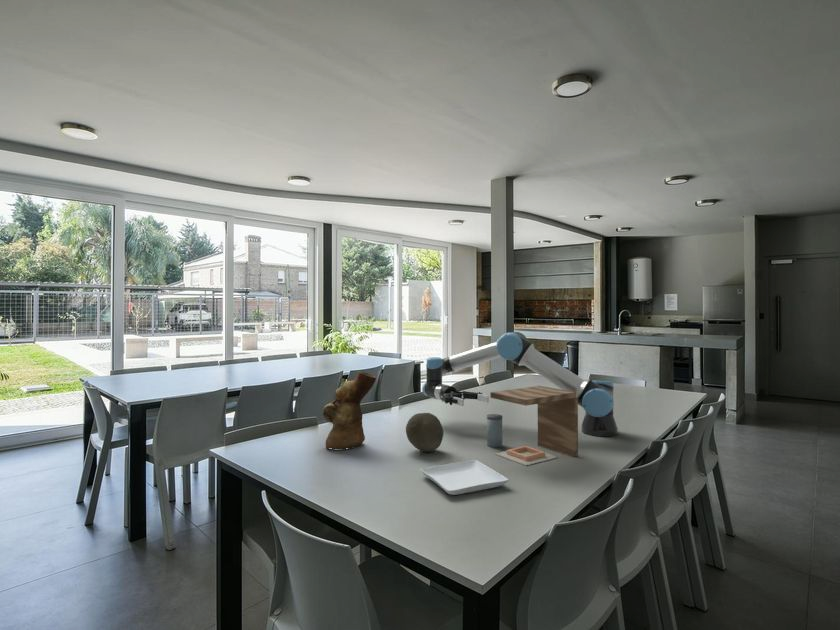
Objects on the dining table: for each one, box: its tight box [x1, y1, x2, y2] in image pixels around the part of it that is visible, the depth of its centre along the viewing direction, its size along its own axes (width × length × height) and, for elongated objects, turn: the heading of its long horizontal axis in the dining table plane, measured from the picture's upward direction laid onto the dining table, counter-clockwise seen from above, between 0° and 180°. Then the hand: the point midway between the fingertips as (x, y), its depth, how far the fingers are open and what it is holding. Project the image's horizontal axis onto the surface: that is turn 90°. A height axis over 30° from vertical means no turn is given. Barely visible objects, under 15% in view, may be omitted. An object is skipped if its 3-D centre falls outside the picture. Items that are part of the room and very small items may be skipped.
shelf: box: [489, 385, 579, 458], centre depth 174 cm, size 27×18×24 cm, turn 123°
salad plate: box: [420, 459, 509, 496], centre depth 149 cm, size 21×21×3 cm
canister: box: [486, 413, 503, 449], centre depth 189 cm, size 6×6×12 cm
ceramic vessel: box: [322, 370, 377, 449], centre depth 191 cm, size 16×22×30 cm
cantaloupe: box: [405, 412, 444, 453], centre depth 181 cm, size 14×14×15 cm
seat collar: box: [494, 445, 558, 467], centre depth 175 cm, size 16×16×2 cm
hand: (475, 401), depth 198 cm, fingers open, 13 cm apart
